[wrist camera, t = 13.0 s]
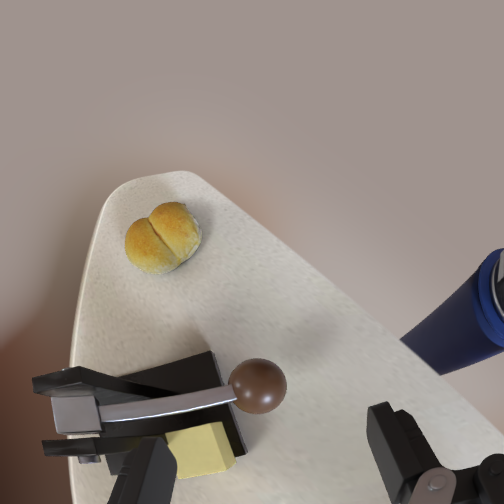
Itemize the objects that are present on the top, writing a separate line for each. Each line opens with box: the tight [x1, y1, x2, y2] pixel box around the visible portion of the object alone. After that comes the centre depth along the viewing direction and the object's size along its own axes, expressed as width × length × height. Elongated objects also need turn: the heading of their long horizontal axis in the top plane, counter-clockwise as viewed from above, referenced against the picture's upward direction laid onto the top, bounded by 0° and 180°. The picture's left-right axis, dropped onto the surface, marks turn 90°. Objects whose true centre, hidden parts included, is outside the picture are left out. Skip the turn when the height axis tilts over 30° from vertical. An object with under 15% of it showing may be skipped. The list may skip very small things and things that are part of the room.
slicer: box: [32, 351, 248, 475], centre depth 17 cm, size 14×10×14 cm
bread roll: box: [125, 202, 202, 274], centre depth 31 cm, size 8×9×4 cm
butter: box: [165, 422, 236, 479], centre depth 19 cm, size 4×4×4 cm
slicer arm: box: [51, 358, 287, 435], centre depth 16 cm, size 15×4×4 cm
